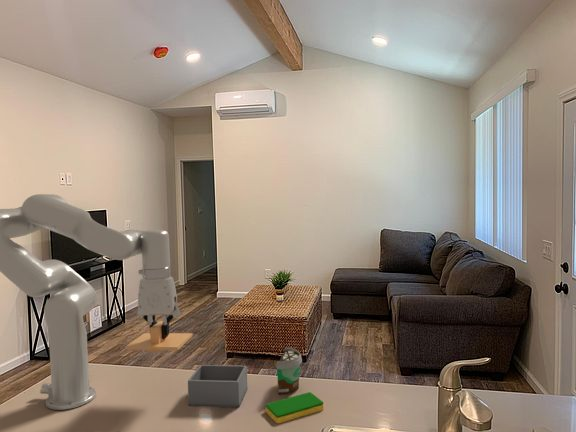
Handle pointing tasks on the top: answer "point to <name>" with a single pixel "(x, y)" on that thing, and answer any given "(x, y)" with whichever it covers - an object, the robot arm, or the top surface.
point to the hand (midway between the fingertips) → (159, 337)
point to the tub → (217, 386)
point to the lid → (159, 340)
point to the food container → (288, 371)
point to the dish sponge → (293, 407)
